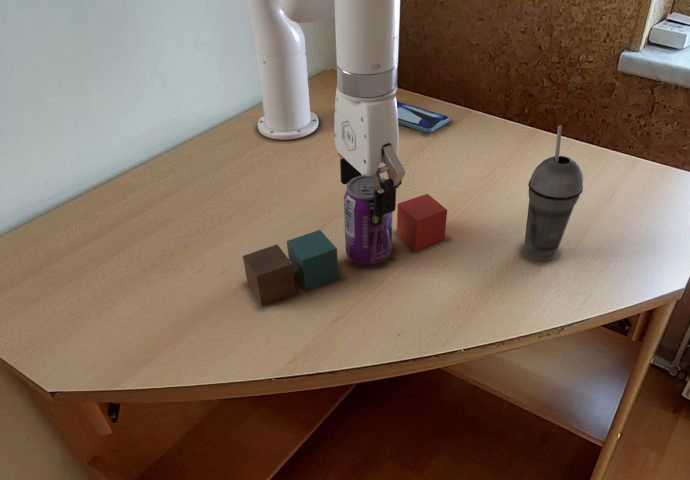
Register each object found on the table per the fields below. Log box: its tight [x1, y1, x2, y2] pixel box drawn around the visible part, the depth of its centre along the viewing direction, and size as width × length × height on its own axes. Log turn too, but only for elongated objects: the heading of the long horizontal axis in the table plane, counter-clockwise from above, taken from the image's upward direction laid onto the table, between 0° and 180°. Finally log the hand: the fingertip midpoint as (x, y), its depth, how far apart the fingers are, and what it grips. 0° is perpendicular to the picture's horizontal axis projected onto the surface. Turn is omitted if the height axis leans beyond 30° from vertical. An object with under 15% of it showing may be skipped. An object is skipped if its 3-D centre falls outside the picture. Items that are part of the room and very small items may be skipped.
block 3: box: [396, 193, 448, 251], centre depth 97 cm, size 6×6×6 cm
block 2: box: [286, 229, 339, 291], centre depth 92 cm, size 6×6×6 cm
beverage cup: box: [523, 124, 584, 263], centre depth 87 cm, size 7×7×20 cm
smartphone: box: [396, 100, 450, 133], centre depth 127 cm, size 7×1×15 cm
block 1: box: [242, 244, 297, 307], centre depth 90 cm, size 6×6×6 cm
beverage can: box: [343, 174, 393, 265], centre depth 92 cm, size 7×7×12 cm
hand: (367, 196), depth 89 cm, fingers open, 9 cm apart
